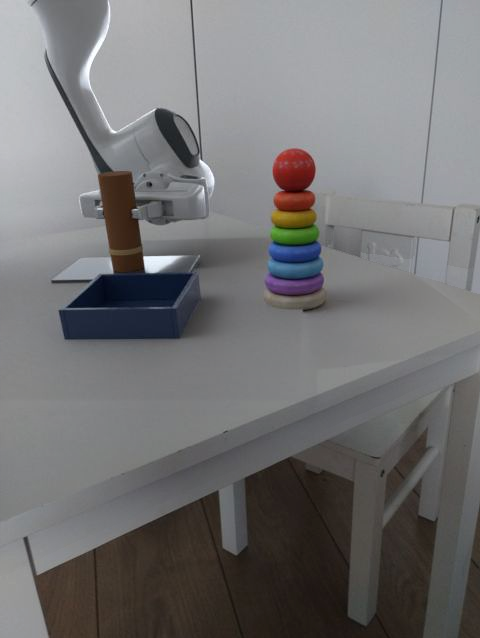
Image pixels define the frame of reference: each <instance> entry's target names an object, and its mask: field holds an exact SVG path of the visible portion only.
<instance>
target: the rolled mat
mask: <svg viewBox="0 0 480 638" xmlns="http://www.w3.org/2000/svg"><path fill="white" fill-rule="evenodd" d="M97 179H98V185H99V190H100V193H101V199H102V205H103V211H104V218H105V219H104V223H105V224H104V225H105V229H106V236H107V242H108V243H107V244H108V252H109V254H110V257H111V261H112V267H113V270H114V271H116V272H133V271H137V270H140V269H142V268H144V266H145V265H144V258H143V256H144V252H143V251H144V248H143V247H144V246H143V243H142V237H141V230H140V229H141V228H140V222H139V221H140V220H134V219H133V218H132V215H133V214H132V211H131V210H132V208H133V207H135V206H136V199H135V192H134V185H133V177H132V172H130V171H113V172H105V173H100V174H98V173H97Z"/></svg>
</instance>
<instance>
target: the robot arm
mask: <svg viewBox="0 0 480 638" xmlns="http://www.w3.org/2000/svg"><path fill="white" fill-rule="evenodd" d="M25 1H26V3H27V5H28V6H29V7H30V9H31V10H32V12H33V14H34V15H35V17H36V19H37V21H38V23H39V26H40V28H41V31H42V35H43V38H44V42H45V50H44V55H43V57H44V61H45V65H46V68H47V70H48V72H49V75H50V78H51V79H52V82H53V83H54V86H55V88H56V90H57V92H58V93H59V96H60V98H61V100H62V101H63V104H64V106H65V107H66V109H67V111H68V113H69V115H70V117H71V119H72V121H73V122H74V124H75V126H76V128H77V130H78V132H79V135H80V136H81V138H82V140H83V141H84V143H85V145H86V148H87V150H88V152H89V155H90V158H91V161H92V163H93V166H94V169H95V171H96V173H97V175H98V174H100V173H105V172H113V171H130V172H132V177H133V185H134V192H135V199H136V206H135V207H133V208H132V210H131V211H132V214H133V215H132V218H133V219H134V220H138V221H145V222H148V223H149V224H152V225H153V226H154V225H155V226H166V225H169V224H171V223H173V224H175V223H178V222H181V221H182V222H183V221H196V220H205V219H207V218H208V217H210V199H211V197H212V195H213V193H214V190H215V177H214V174H213V171H212V170H211V168H210V167H209V165H207V163H205V162H204V161H202V159H201V151H200V146H199V143H198V139H197V136H196V134H195V132H194V131H193V129H192V127H191V125H190V123H189V122H188V121H187V120H186V119H185V118H184V117H183V116H182V115H180V114H179V113H177V112H176V111H174V110H172V109H169V108H167V107H163V106H158V107H156V108H155V109H153V110H151V111H149V112H147V113H146V114H144V115H142V116H140V117H139V118H137V119H136V120H134V121H133V122H131V123H130V124H128V125H126V126H124V127H123V128H121V129H119V130H117V131H115V130H114V129H113V128H111V126H110V124H109V122H108V120H107V118H106V116H105V114H104V112H103V109H102V108H101V106H100V103H99V102H98V100H97V97H96V95H95V93H94V91H93V88H92V86H91V82H90V70H91V67H92V63H93V61H94V59H95V57H96V55H97V54H98V52H99V50H100V48H101V47H102V44H103V43H104V41H105V39H106V36H107V34H108V31H109V27H110V23H111V22H110V21H111V7H110V0H25ZM78 202H79V208H80V212H81V215H82V217H84V218H86V219H87V218H89V219H96V220H105V218H104V211H103V205H102V199H101V193H100V189H97V190H92V191H88V192H84V193H81V194H80V195H79V197H78Z"/></svg>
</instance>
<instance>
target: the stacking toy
mask: <svg viewBox="0 0 480 638" xmlns="http://www.w3.org/2000/svg"><path fill="white" fill-rule="evenodd" d="M316 172H317V171H316V163H315V160H314V158H313V157H312V156H311V155H310V154H309V152H307V151H306V150H304V149H301V148H296V147H295V148H288V149H285V150H283V151H281V152H280V153H279V154H278V155H277V156H276V158H275V160H274V161H273V165H272V177H273V180H274V182H275V185H276V186H277V187H278V188H279V189H280V191H277V192H276V193H275V194H274V196H273V205H274V207H275V208H276V209H275V210H273V211H272V213H271V215H270V221H271V223H272V224H273V226H272V227H271V228H270V233H269V234H270V239H271V241H272V242H271V243H269V246H268V254H269V257H270V258H269V260H268V261H267V271H268V273H267V274H266V276H265V277H264V284H265V287H266V289H265V291H264V292H263V298H264V301H265V303H266V304H268V305H269V306H271V307H273V308H278V309H284V310H285V309H286V310H302V311H308V310H311V309H315V308H318V307H320V306H321V305H322V304H324V302H325V301H326V299H327V290H326V288H325V287H324V286H323V285H324V283H325V277H324V275H323V273H322V270H323V267H324V260H323V258H322V257H321V256H320V255H321V253H322V245H321V243H320V241H318V239H319V237H320V229H319V227H318V226H317V225H316V224H315V223H316V221H317V216H318V215H317V213H316V211H315V210H314V209H313V208H312V207H313V206H314V205H315V203H316V195H315V193H314V192H313V191H311V190H309V189H308V188H309V187H310V186H311V185H312V183H313V182H314V180H315V177H316Z"/></svg>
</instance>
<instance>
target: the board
mask: <svg viewBox="0 0 480 638" xmlns="http://www.w3.org/2000/svg"><path fill="white" fill-rule="evenodd" d="M143 258H144V265H145V266H144V268H142V269H140V270H137V271H133V272H116V271H114V270H113V267H112V261H111V256H102V257H101V256H99V257H97V256H94V257H80V258H79V259H77V260H76V261H75V262H73V263H71V265H70V266H68V267H66V268H65V269H64V270H63V271H61V272H59V274H57V275H56V276H55V277H53V278H52V279H51V280H50V283H51V284H77V283H78V284H79V283H81V284H82V283H86V284H88V283H90V282H91V281H92V280H93V279H94V278H95V277H96V276H97V275H99V274H127V273H182V272H193V270H196V269H197V267H198V266H199V264H200V263H201V261H202V260H201V255H199V254H197V255H196V254H195V255H193V254H192V255H157V256H156V255H151V256H150V255H149V256H147V255H143Z"/></svg>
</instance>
